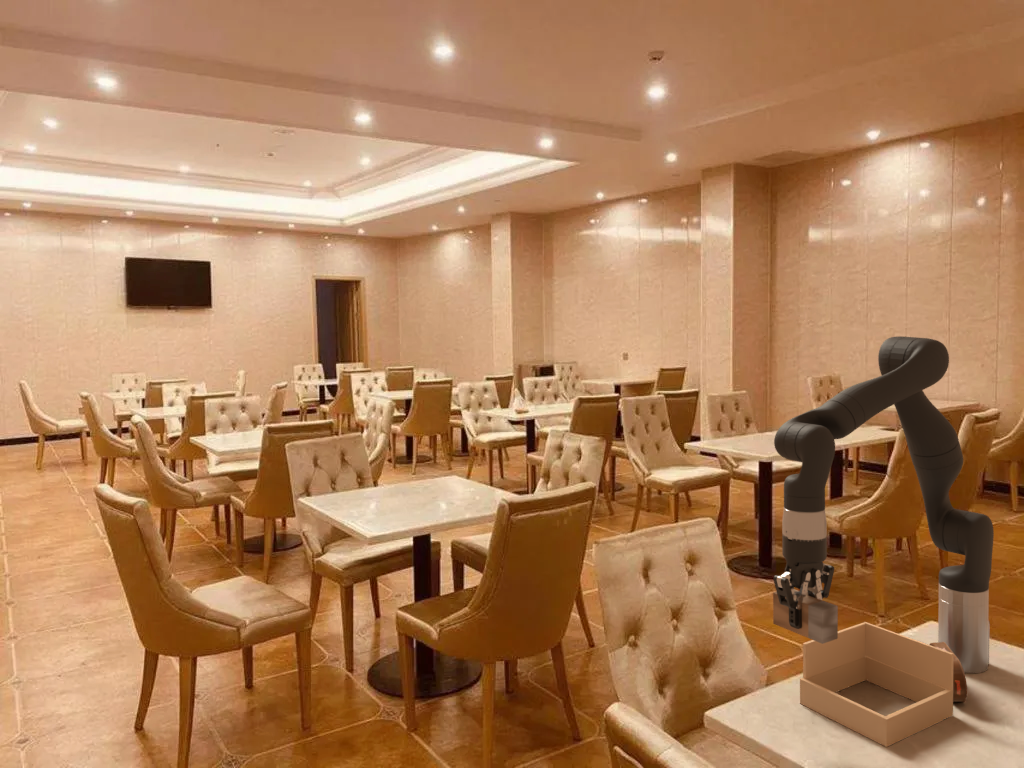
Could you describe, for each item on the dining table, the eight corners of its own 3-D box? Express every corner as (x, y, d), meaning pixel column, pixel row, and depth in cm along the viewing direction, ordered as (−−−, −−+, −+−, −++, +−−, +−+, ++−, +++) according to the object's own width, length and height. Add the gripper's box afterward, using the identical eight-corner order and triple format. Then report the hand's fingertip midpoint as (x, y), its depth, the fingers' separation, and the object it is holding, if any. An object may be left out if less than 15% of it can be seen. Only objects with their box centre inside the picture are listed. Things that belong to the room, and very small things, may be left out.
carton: (864, 677, 162) (865, 621, 161) (952, 715, 146) (953, 653, 145) (800, 703, 153) (799, 644, 152) (886, 746, 137) (886, 680, 136)
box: (788, 619, 148) (788, 588, 148) (837, 638, 139) (837, 605, 138) (773, 623, 147) (773, 592, 146) (822, 643, 137) (822, 610, 136)
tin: (968, 710, 148) (969, 667, 147) (950, 709, 149) (951, 666, 148) (942, 674, 163) (942, 635, 162) (925, 673, 163) (925, 634, 163)
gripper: (813, 522, 148) (813, 610, 149) (760, 534, 141) (760, 626, 142) (848, 530, 141) (847, 622, 143) (793, 544, 135) (794, 640, 136)
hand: (804, 624), depth 143 cm, fingers closed on box, 4 cm apart
